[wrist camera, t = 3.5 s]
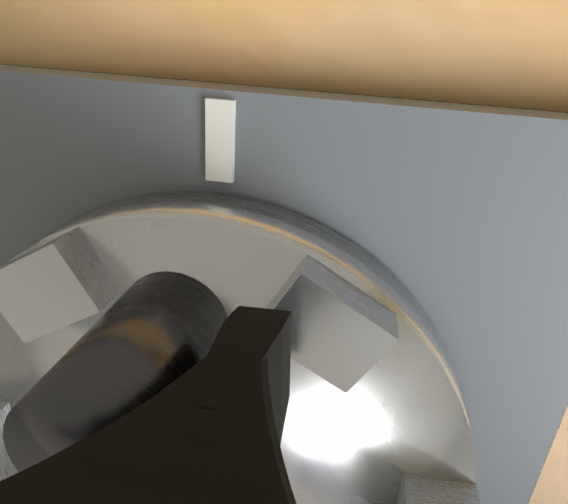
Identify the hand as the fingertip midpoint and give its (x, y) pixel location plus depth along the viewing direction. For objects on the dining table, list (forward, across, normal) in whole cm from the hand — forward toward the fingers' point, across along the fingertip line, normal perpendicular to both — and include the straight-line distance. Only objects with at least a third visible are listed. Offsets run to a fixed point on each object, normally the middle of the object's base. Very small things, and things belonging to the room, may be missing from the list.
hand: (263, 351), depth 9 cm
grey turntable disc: (+4, +2, +6) cm, 7 cm away
